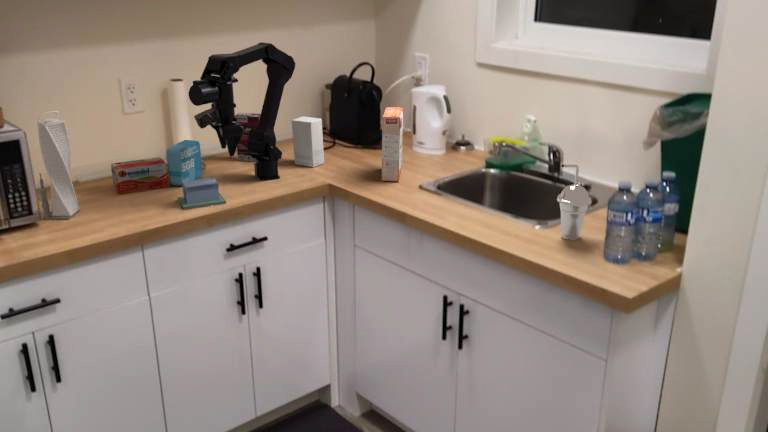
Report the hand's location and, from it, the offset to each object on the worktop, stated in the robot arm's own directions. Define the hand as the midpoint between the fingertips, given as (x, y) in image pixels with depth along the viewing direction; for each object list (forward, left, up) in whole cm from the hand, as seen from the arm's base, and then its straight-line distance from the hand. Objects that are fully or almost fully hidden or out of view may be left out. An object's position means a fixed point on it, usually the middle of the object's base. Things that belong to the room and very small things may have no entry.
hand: (227, 152), depth 209 cm
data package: (+10, -15, -12) cm, 22 cm away
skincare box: (-31, -16, -12) cm, 37 cm away
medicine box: (+23, -15, -12) cm, 30 cm away
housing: (+10, +6, -11) cm, 16 cm away
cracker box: (-51, +7, -12) cm, 53 cm away
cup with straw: (-69, +72, -12) cm, 100 cm away
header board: (+10, +6, -12) cm, 17 cm away
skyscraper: (+46, 0, -12) cm, 48 cm away
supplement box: (-15, -29, -12) cm, 35 cm away
